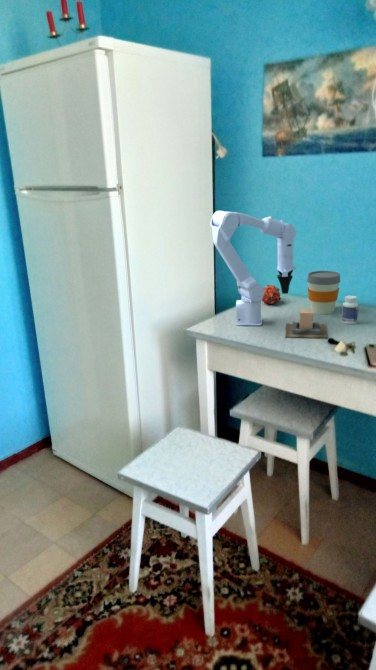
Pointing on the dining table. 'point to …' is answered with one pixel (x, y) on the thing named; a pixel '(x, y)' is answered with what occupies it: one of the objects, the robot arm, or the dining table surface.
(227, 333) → the dining table surface
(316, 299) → the reusable coffee cup
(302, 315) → the beige upright block
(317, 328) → the socket board
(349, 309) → the pill bottle
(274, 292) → the dragon fruit
